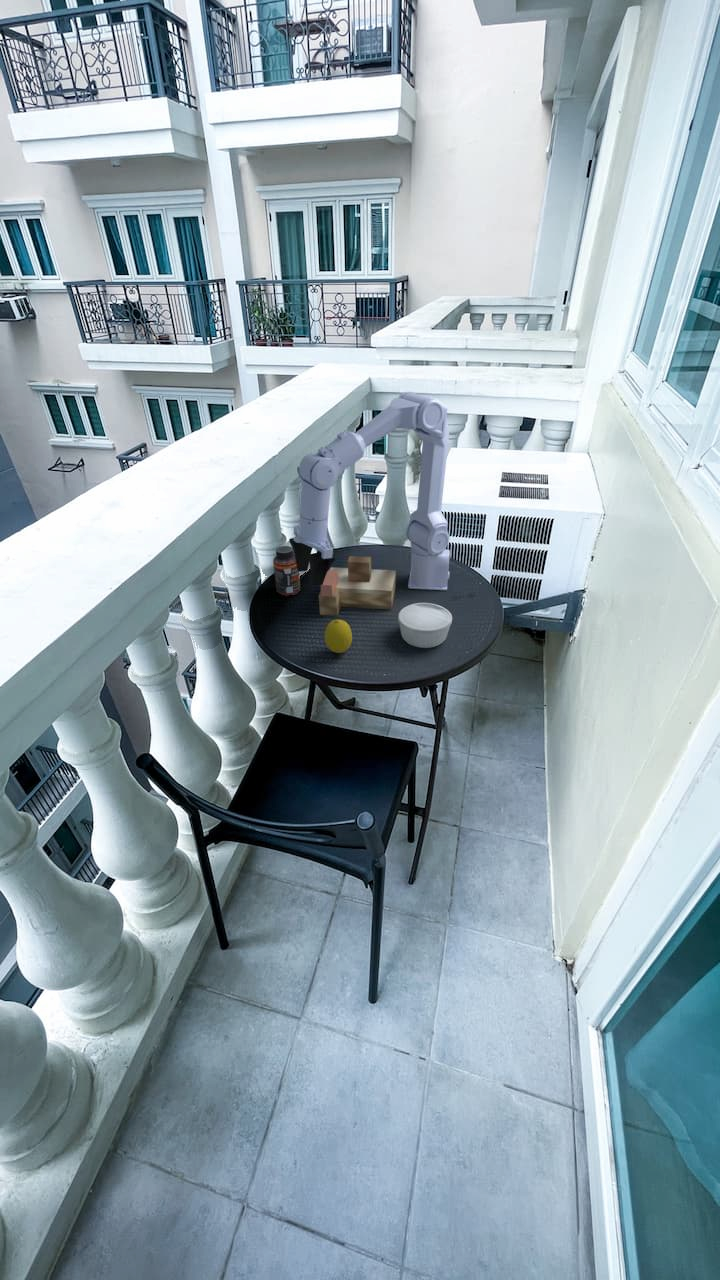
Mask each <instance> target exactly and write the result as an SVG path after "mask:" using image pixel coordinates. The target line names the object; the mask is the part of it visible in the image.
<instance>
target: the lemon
mask: <svg viewBox="0 0 720 1280" xmlns="http://www.w3.org/2000/svg"><path fill="white" fill-rule="evenodd" d="M352 632H353V631H352V629H351V627H350V625H349V624H348V623H347V621H345V620H342V619H334V620H331V621H330V622H329V623H328V624H327V626H326V628H325V631H324V642H325V645H326V646H327V648H328V649H329V650H330V651H332V652H333V653H337V654H341V653H344V652H346V651H347V650H348V649H349V648H350V647H351V646H352V645H351V644H352V642H353V633H352Z"/></svg>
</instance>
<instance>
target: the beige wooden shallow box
mask: <svg viewBox="0 0 720 1280" xmlns="http://www.w3.org/2000/svg"><path fill="white" fill-rule="evenodd" d="M396 578H397V575H396V576H395V581H394V586H393V591H392V595H389V594H369V593H350V592H340V589H339V588H336V589H335V591H334V594H333V597H330V596H321V590H320V591H319V594H318V603H319V604H318V605H319V606H318V607H319V614H320V616H333V617H334V616H335V617H337V616H338V615H339V612H340V609H341V608H352V609H353V608H354V609H355V608H356V609H357V608H358V609H371V610H390V611H391V610H393V609H392V608H393V604H394V599H395V594H396V587H397V585H396V583H397V582H396V580H397V579H396Z"/></svg>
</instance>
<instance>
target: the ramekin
mask: <svg viewBox="0 0 720 1280" xmlns="http://www.w3.org/2000/svg"><path fill="white" fill-rule="evenodd" d="M397 622H398V623H399V629H400V635H401V637H402V639H403V640H404V641H405V642H406V643H407V644H408V645H410V646H411V647H415V648H420V649H431V648H436V647H437V646H439V645H441V644H442V643H444V642H445V640H447V637H448V634H449V630H450V627H451V625H452V622H453V616H452V613H451V612H450V611H449V610H448V609H446V608H445V607H443V606H441V605H438V604H436V603H431V602H430V603H429V602H417V603H412V604H409V605H407V606H405V607H403V608H402V609H400V611H399V612H398V616H397Z"/></svg>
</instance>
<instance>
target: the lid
mask: <svg viewBox="0 0 720 1280" xmlns="http://www.w3.org/2000/svg"><path fill="white" fill-rule="evenodd" d="M329 570H331V571H338V583H337V586H336V588H339V589H340V592H350V593H369V594H389V595H392V591H393V586H394V581H395V576H396V577H397V574H396V573H397V571H396V570H397V569H396V570H394V569H393V570H391V569H375V568H374V569H373V568H372V557H371V556H357V555H356V556H355V555H351V556H350V555H349V557H348V559H347V567H332V566H330V567H329Z"/></svg>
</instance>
